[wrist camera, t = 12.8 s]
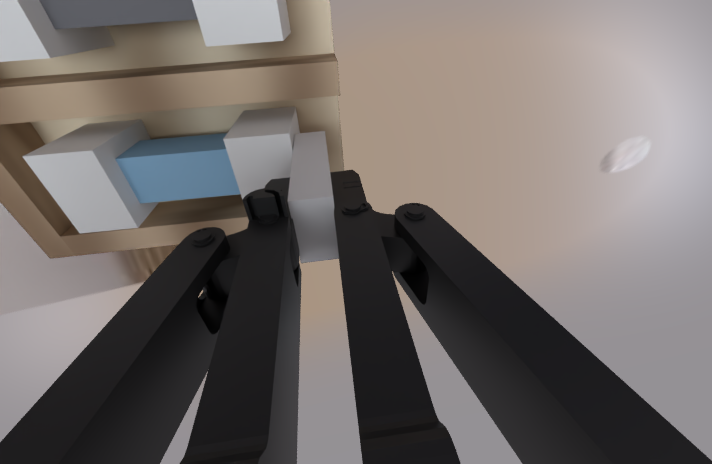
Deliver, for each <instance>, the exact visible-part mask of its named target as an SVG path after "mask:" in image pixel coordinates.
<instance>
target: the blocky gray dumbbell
mask: <svg viewBox="0 0 712 464" xmlns="http://www.w3.org/2000/svg"><path fill="white" fill-rule="evenodd" d="M183 20H198V21H199V25H200V28H201V31H202V35H203V38H204V41H205V45H206V47H208V46H221V45H234V44H248V43H261V42H275V41H284V40H285V39H286V38H287V36H288V35H289V34H290V33H291V30H290V23H289V17H288V10H287V4H286V0H0V62H6V61H20V60H33V59H47V58H54V57H59V56H64V55H69V54H74V53H79V52H85V51H90V50H95V49H100V48H105V47H110V46H115V44H114V41H113V39H112V37H111V35H110V33H109V30H108V28H107V26H111V25H126V24H140V23H155V22H169V21H183Z"/></svg>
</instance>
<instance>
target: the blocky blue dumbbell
mask: <svg viewBox="0 0 712 464" xmlns="http://www.w3.org/2000/svg"><path fill="white" fill-rule="evenodd" d="M298 133H300V131H299V125H298V119H297V113H296V107H283V108H271V109H259V110H246V111H243V112H242V114H241V115H240V116H239V118H238V119H237V121H236V122H235V123H234V125H233V126H232V127H231V129H230V130H229V132H228V133H221V134H210V135H198V136H186V137H175V138H163V139H152V140H151V139H150V137H149V135H148V133H147V130H146V128H145V126H144V124H143V122H142V120H141V119H138V120H126V121H114V122H102V123H90V124H85V125H83V126H82V127H80V128H78V129H76V130H74V131H72V132H70V133H68V134H66V135H64V136H62V137H60V138H58V139H56V140H54V141H52V142H50V143H48V144H46V145H44V146H42V147H40V148H38V149H36V150H34V151H32V152H30V153H28V154H26V155H24V156H22V157H23V158H24V160H25V161H26V162H27V164H28V165H29V166H30V168H31V169H32V170H33V172H34V173H35V174H36V176H37V177H38V178H39V180H40V181H41V182H42V184H43V185H44V186H45V188H46V189H47V190H48V192H49V193H50V194H51V196H52V197H53V198H54V200H55V201H56V202H57V204H58V205H59V206H60V208H61V209H62V210H63V212H64V213H65V214H66V216H67V217H68V218H69V220H70V221H71V222H72V224H73V225H74V226H75V228H76V229H77V230H78V232H79V233H90V232H101V231H111V230H121V229H131V228H138V227H139V226H140V225H141V224H142V223H143V221H144V220H145V219H146V218H147V216H148V215H149V214H150V213H151V212H152V210H153V209H154V208H155V207H156V205H157V204H158V203H159V202H162V201H172V200H183V199H194V198H204V197H215V196H225V195H236V194H241V197H242V200H243V198H244V197H245V196H246V195H247V194H249V193H250V192H253V191H255V190H258V189H263V188H265V185H266V184H267V183H268V182H269V181H270V180H271V179H279V178H288V177H290V174H291V165H292V155H293V146H294V137H295V134H298Z"/></svg>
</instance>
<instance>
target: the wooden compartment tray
mask: <svg viewBox="0 0 712 464" xmlns="http://www.w3.org/2000/svg"><path fill="white" fill-rule="evenodd" d="M286 4H287V10H288V17H289V23H290V30H291V33H290V34H289V35H288V36H287V38H286V39H285V40H284V41H275V42H261V43H248V44H234V45H221V46H208V47H206V45H205V41H204V38H203V35H202V31H201V28H200V25H199V21H198V20H183V21H169V22H155V23H140V24H126V25H111V26H107V28H108V30H109V33H110V35H111V37H112V39H113V41H114V44H115V46H110V47H105V48H100V49H95V50H90V51H85V52H79V53H74V54H69V55H64V56H59V57H54V58H47V59H33V60H20V61H6V62H0V202H1V203H2V204H3V205H4V207H5V208H6V209H7V210H8V211H9V212H10V213H11V215H12V216H13V217H14V218H15V219H16V220H17V221H18V223H19V224H20V225H21V226H22V227H23V228H24V229H25V231H26V232H27V233H28V234H29V235H30V236H31V237H32V239H33V240H34V241H35V242H36V243H37V244H38V245H39V247H40V248H41V249H42V250H43V251H44V252H45V253H46V254H47V256H48V257H49V258H60V257H69V256H78V255H87V254H96V253H106V252H115V251H124V250H133V249H142V248H152V247H161V246H170V245H179V244H180V243H181V241H182V240H183V239H184V238H185V237H187V236H188V235H189V234H191V233H193V232H195V231H196V230H198V229H202V228H207V227H217V228H221V229H222V230H224V232H225V234H226V236H227V235H231V234H234V233H237V232H240V231H242V230H245V229H247V227H248V223H249V220H248V216H247V213H246V210H245V207H244V204H243V201H242V197H241V194H236V195H225V196H215V197H204V198H194V199H183V200H172V201H162V202H159V203H158V204H157V205H156V207H155V208H154V209H153V210H152V212H151V213H150V214H149V215H148V216H147V218H146V219H145V220H144V221H143V223H142V224H141V225H140V226H139V227H138V228H131V229H121V230H111V231H101V232H90V233H79V232H78V230H77V229H76V228H75V226H74V225H73V224H72V222H71V221H70V220H69V218H68V217H67V216H66V214H65V213H64V212H63V210H62V209H61V208H60V206H59V205H58V204H57V202H56V201H55V200H54V198H53V197H52V196H51V194H50V193H49V192H48V190H47V189H46V188H45V186H44V185H43V184H42V182H41V181H40V180H39V178H38V177H37V176H36V174H35V173H34V172H33V170H32V169H31V168H30V166H29V165H28V164H27V162H26V161H25V160H24V158H23V157H22V156H24V155H26V154H28V153H30V152H32V151H34V150H36V149H38V148H40V147H42V146H44V145H46V144H48V143H50V142H52V141H54V140H56V139H58V138H60V137H62V136H64V135H66V134H68V133H70V132H72V131H74V130H76V129H78V128H80V127H82V126H83V125H85V124H90V123H102V122H114V121H126V120H138V119H141V120H142V122H143V124H144V126H145V128H146V130H147V133H148V135H149V137H150V139H151V140H152V139H163V138H175V137H186V136H198V135H210V134H221V133H228V132H229V130H230V129H231V127H232V126H233V125H234V123H235V122H236V121H237V119H238V118H239V116H240V115H241V114H242V112H243V111H246V110H259V109H271V108H283V107H296V113H297V119H298V125H299V131H300V133H308V132H319V131H325V136H326V144H327V152H328V160H329V168H330V172H337V171H344V164H343V151H342V141H341V128H340V116H339V106H338V96H340V87H339V74H338V62H337V59H336V57H335V54H334V46H333V34H332V24H331V10H330V0H286Z"/></svg>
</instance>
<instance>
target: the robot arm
mask: <svg viewBox="0 0 712 464" xmlns="http://www.w3.org/2000/svg"><path fill="white" fill-rule="evenodd" d="M242 201H243V204H244V207H245V210H246V213H247V216H248V220H249V223H248V227H247V229H245V230H242V231H240V232H237V233H234V234H231V235H227V236H226V234H225V232H224V230H222V229H221V228H217V227H207V228H202V229H198V230H196V231H195V232H193V233H191V234H189V235H188V236H187V237H185V238H184V239H183V240H182V241H181V243H180V244H179V245H178V246H177V247H176V248H175V249H174V250H173V251H172V253H171V254H170V255H169V256H168V257H167V258H166V259H165V260H164V261H163V263H162V264H161V265H160V266H159V267H158V268H157V269H156V270H155V271H154V273H153V274H152V275H151V276H150V277H149V278H148V279H147V280H146V281H145V282H144V284H143V285H142V286H141V287H140V288H139V289H138V290H137V291H136V292H135V294H134V295H133V296H132V297H131V298H130V299H129V300H128V302H126V304H125V305H124V306H123V307H122V308H121V309H120V310H119V311H118V312H117V314H116V315H115V316H114V317H113V318H112V319H111V320H110V321H109V322H108V324H107V325H106V326H105V327H104V328H103V329H102V330H101V331H100V332H99V333H98V335H97V336H96V337H95V338H94V339H93V340H92V341H91V342H90V344H89V345H88V346H87V347H86V348H85V349H84V350H83V351H82V352H81V353H80V355H79V356H78V357H77V358H76V359H75V360H74V361H73V362H72V364H71V365H70V366H69V367H68V368H67V369H66V370H65V371H64V372H63V373H62V375H61V376H60V377H59V378H58V379H57V380H56V381H55V382H54V383H53V384H52V386H51V387H50V388H49V389H48V390H47V391H46V392H45V393H44V394H43V396H42V397H41V398H40V399H39V400H38V401H37V402H36V403H35V404H34V406H33V407H32V408H31V409H30V410H29V411H28V412H27V413H26V414H25V416H24V417H23V418H22V419H21V420H20V421H19V422H18V423H17V425H16V426H15V427H14V428H13V429H12V430H11V431H10V432H9V433H8V434H7V435H6V437H5V438H4V439H3V440H2V441H1V442H0V464H160V462H161V460H162V458H163V456H164V454H165V452H166V451H167V449H168V447H169V445H170V443H171V441H172V439H173V437H174V435H175V433H176V431H177V429H178V427H179V425H180V423H181V422H182V420H183V418H184V415H185V414H186V412H187V410H188V408H189V406H190V404H191V402H192V400H193V398H194V396H195V394H196V392H197V391H198V389H199V387H200V385H201V383H202V381H203V379H204V377H205V375H206V373H207V371H208V374H207V377H206V381H205V385H204V388H203V392H202V396H201V399H200V403H199V407H198V410H197V414H196V418H195V421H194V425H193V429H192V432H191V436H190V440H189V443H188V447H187V450H186V453H185V456H184V458H183V459H182V461H181V462H180V464H297V425H298V386H299V385H298V383H299V345H300V343H299V342H300V304H301V269H300V265H299V256H300V260H301V263H306V262H314V261H323V260H331V259H339V261H340V270H341V279H342V288H343V296H344V304H345V314H346V322H347V331H348V339H349V348H350V357H351V365H352V374H353V382H354V391H355V400H356V408H357V417H358V425H359V434H360V443H361V452H362V460H363V464H460V461H459V458H458V455H457V452H456V449H455V446H454V444H453V441H452V438H451V436H450V434H449V432H448V430H447V429H446V427H445V426H444V425H443V424H442V423H441V422H440V421H439V420H438V418H437V416H436V413H435V410H434V407H433V404H432V401H431V397H430V394H429V391H428V388H427V385H426V381H425V378H424V375H423V372H422V368H421V365H420V362H419V359H418V355H417V352H416V349H415V346H414V342H413V339H412V336H411V333H410V329H409V326H408V323H407V320H406V316H405V313H404V310H403V307H402V304H401V300H400V297H399V294H398V290H397V287H396V284H395V281H394V278H393V274H392V271H393V273H394V276H395V277H396V279H397V280H398V282H399V283H400V285H401V286H402V288H403V289H404V291H405V292H406V294H407V295H408V297H409V298H410V299H411V301H412V302H413V304H414V305H415V307H416V308H417V310H418V311H419V313H420V314H421V316H422V317H423V319H424V320H425V321H426V323H427V324H428V326H429V327H430V329H431V330H432V332H433V333H434V335H435V336H436V338H437V339H438V340H439V342H440V343H441V345H442V346H443V348H444V349H445V351H446V352H447V354H448V355H449V357H450V358H451V359H452V361H453V362H454V364H455V365H456V367H457V368H458V369H459V371H460V373H461V374H462V376H463V377H464V379H465V380H466V381H467V383H468V384H469V386H470V387H471V389H472V390H473V392H474V393H475V394H476V396H477V398H478V399H479V400H480V402H481V403H482V405H483V406H484V408H485V409H486V411H487V412H488V414H489V415H490V417H491V418H492V419H493V421H494V422H495V424H496V425H497V427H498V428H499V430H500V431H501V433H502V434H503V435H504V437H505V438H506V440H507V441H508V443H509V444H510V446H511V447H512V449H513V450H514V452H515V453H516V455H517V456H518V458H519V459H520V460H521V462H522V463H523V464H712V461H711V460H710V459H709V458H708V457H707V456H706V455H705V454H703V453H702V452H701V451H700V450H699V449H698V448H697V447H696V446H695V445H693V444H692V443H691V442H690V441H689V440H688V439H687V438H686V437H685V436H683V435H682V434H681V433H680V432H679V431H678V430H677V429H676V428H675V427H674V426H672V425H671V424H670V423H669V422H668V421H667V420H666V419H665V418H664V417H662V416H661V415H660V414H659V413H658V412H657V411H656V410H655V409H654V408H652V407H651V406H650V405H649V404H648V403H647V402H646V401H645V400H644V399H643V398H641V397H640V396H639V395H638V394H637V393H636V392H635V391H634V390H633V389H631V388H630V387H629V386H628V385H627V384H626V383H625V382H624V381H623V380H621V379H620V378H619V377H618V376H617V375H616V374H615V373H614V372H612V371H611V370H610V369H609V368H608V367H607V366H606V365H605V364H604V363H602V362H601V361H600V360H599V359H598V358H597V357H596V356H595V355H594V354H593V353H592V352H590V351H589V350H588V349H587V348H586V347H585V346H584V345H582V343H580V342H579V341H578V340H577V339H576V338H575V337H574V336H573V335H572V334H570V333H569V332H568V331H567V330H566V329H565V328H564V327H563V326H562V325H560V324H559V323H558V322H557V321H556V320H555V319H554V318H553V317H552V316H550V315H549V314H548V313H547V312H546V311H545V310H544V309H543V308H542V307H540V306H539V305H538V304H537V303H536V302H535V301H534V300H533V299H532V298H530V297H529V296H528V295H527V294H526V293H525V292H524V291H523V290H522V289H520V288H519V287H518V286H517V285H516V284H515V283H514V282H513V281H512V280H511V279H509V278H508V277H507V276H506V275H505V274H504V273H503V272H502V271H501V270H500V269H498V268H497V267H496V266H495V265H494V264H493V263H492V262H490V260H488V259H487V258H486V257H485V256H484V255H483V254H482V253H481V252H480V251H478V250H477V249H476V248H475V247H474V246H473V245H472V244H471V243H469V242H468V241H467V240H466V239H465V238H464V237H463V236H462V235H461V234H460V233H458V232H457V231H456V230H455V229H454V228H453V227H452V226H451V225H450V224H449V223H447V222H446V221H445V220H444V219H443V218H442V217H441V216H440V215H438V214H437V213H436V212H435V211H434V210H433V209H432V208H430V207H428V206H427V205H423V204H419V203H409V204H404V205H402V206H400V207H398V208H397V209H396V210H395V215H392V214H383V213H379V212H376V211H374V210H373V209H372V207H371V205H370V204H369V203H367V201H366V197H365V194H364V191H363V187H362V184H361V181H360V177H359V174H357V173H356V172H355V171H353V170H347V171H337V172H330V168H329V160H328V152H327V144H326V136H325V131H319V132H308V133H298V134H295V137H294V146H293V155H292V165H291V174H290V177H288V178H279V179H271V180H270V181H269V182H268V183H267V184H266V185H265V188H263V189H258V190H255V191H253V192H250V193H249V194H247V195H246V196H245V197H244V198H243V200H242ZM202 289H203V293H202V294H201V296H200V297H199V298H198V296H199V294H200V292H201V291H202ZM208 369H209V370H208Z"/></svg>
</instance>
